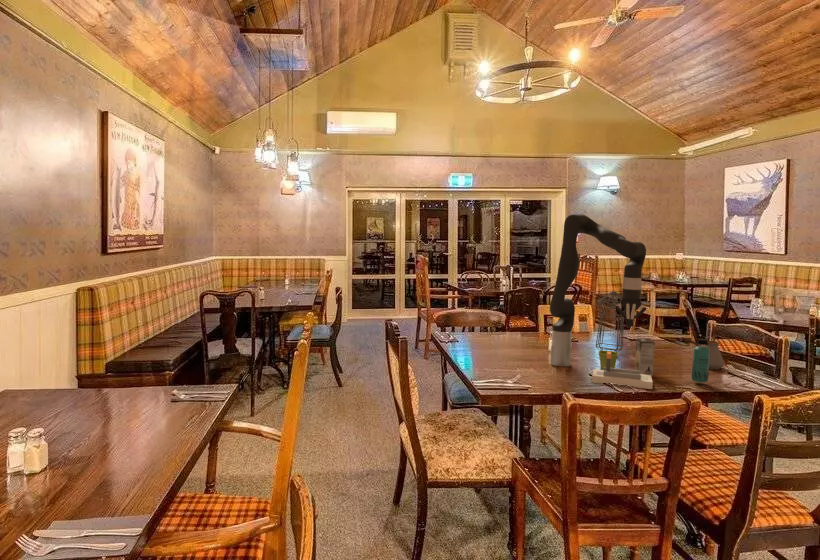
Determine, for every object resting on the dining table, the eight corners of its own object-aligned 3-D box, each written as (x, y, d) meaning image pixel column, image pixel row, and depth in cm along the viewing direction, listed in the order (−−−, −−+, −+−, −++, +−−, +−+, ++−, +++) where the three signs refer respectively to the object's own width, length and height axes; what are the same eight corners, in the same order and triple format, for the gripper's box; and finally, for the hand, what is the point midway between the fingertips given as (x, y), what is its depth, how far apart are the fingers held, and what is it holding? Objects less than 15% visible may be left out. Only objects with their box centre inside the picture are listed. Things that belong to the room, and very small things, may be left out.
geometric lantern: (595, 350, 288) (599, 289, 285) (625, 354, 281) (630, 291, 278) (592, 355, 274) (597, 291, 271) (623, 360, 267) (629, 294, 264)
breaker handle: (604, 374, 224) (605, 353, 224) (604, 371, 230) (605, 351, 229) (611, 375, 223) (612, 354, 222) (611, 371, 228) (612, 351, 228)
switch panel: (592, 382, 223) (592, 371, 223) (593, 375, 235) (593, 364, 234) (652, 389, 215) (652, 377, 214) (650, 381, 226) (651, 370, 225)
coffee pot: (716, 364, 258) (718, 335, 257) (729, 370, 247) (731, 340, 246) (673, 363, 260) (675, 334, 258) (684, 369, 248) (686, 339, 247)
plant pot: (621, 370, 244) (622, 352, 244) (613, 374, 238) (613, 355, 237) (602, 366, 251) (603, 349, 250) (593, 370, 244) (594, 352, 244)
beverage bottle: (687, 381, 227) (690, 337, 225) (701, 381, 227) (704, 337, 226) (697, 386, 220) (700, 340, 219) (711, 385, 221) (714, 340, 219)
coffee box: (634, 370, 245) (636, 337, 244) (648, 371, 244) (650, 338, 243) (638, 375, 236) (640, 341, 235) (653, 376, 235) (655, 342, 234)
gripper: (615, 287, 219) (613, 327, 221) (649, 289, 214) (646, 330, 216) (615, 286, 226) (613, 324, 228) (648, 288, 221) (645, 327, 223)
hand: (629, 327), depth 222 cm, fingers closed
